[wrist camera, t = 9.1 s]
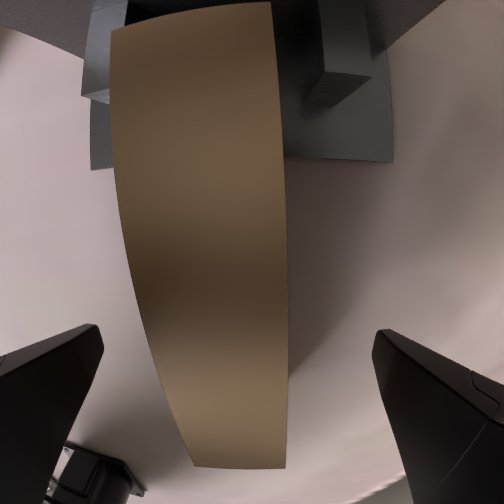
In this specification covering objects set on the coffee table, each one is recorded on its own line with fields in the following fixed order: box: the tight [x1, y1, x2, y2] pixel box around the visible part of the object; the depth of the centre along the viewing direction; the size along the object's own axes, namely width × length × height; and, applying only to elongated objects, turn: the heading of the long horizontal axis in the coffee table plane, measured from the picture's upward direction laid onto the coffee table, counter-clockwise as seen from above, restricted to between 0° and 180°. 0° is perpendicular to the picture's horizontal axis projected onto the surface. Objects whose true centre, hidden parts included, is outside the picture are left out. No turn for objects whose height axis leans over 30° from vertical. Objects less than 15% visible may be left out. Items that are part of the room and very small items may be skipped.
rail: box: [109, 2, 288, 469], centre depth 9 cm, size 14×4×5 cm, turn 4°
